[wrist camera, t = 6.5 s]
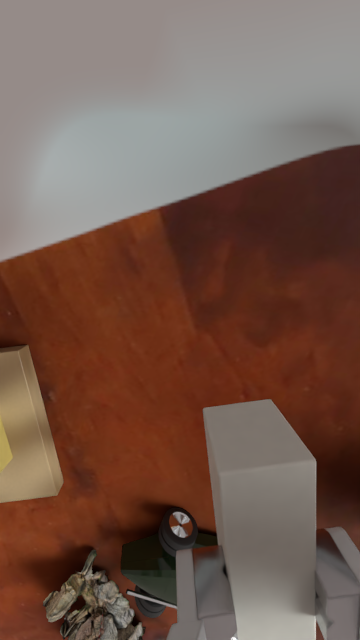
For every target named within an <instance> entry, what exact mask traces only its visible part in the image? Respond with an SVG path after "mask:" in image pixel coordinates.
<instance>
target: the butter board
mask: <svg viewBox="0 0 360 640" xmlns="http://www.w3.org/2000/svg"><path fill="white" fill-rule="evenodd" d="M0 417H1V420H2V423H3V426H4V430H5V433H6V436H7V439H8V443H9V446H10V449H11V453H12V456H13V458H12V459H11V461H10V462H9V463H8V464H7V466H6V467H5V468H4V469H3V470H2V472H1V473H0V503H2V502H10V501H18V500H26V499H33V498H41V497H49V496H56V495H58V493H59V491H60V489H61V487H62V485H63V483H64V480H63V477H62V473H61V469H60V465H59V461H58V457H57V454H56V450H55V446H54V442H53V438H52V434H51V431H50V427H49V423H48V419H47V415H46V411H45V408H44V404H43V400H42V396H41V392H40V388H39V385H38V381H37V377H36V373H35V369H34V365H33V362H32V358H31V354H30V350H29V346H28V345H23V346H14V347H6V348H0Z"/></svg>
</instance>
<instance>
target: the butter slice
mask: <svg viewBox="0 0 360 640" xmlns="http://www.w3.org/2000/svg"><path fill="white" fill-rule="evenodd" d="M12 458H13V456H12V453H11V449H10V446H9V443H8V439H7V436H6V433H5V430H4V426H3V423H2V420H1V417H0V473H1V472H2V470H3V469H4V468H5V467H6V466H7V464H8V463H9V462H10V461H11V459H12Z"/></svg>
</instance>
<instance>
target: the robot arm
mask: <svg viewBox="0 0 360 640" xmlns="http://www.w3.org/2000/svg"><path fill="white" fill-rule="evenodd" d="M176 582H177V623H175V624H172V626H171V629H170V631H169V634H168V636H167V639H166V640H238V636H237V623H236V615H235V609H234V603H233V598H232V592H231V587H230V582H229V579H228V578H227V573H226V564H225V558H224V553H223V548H222V545H215V546H208V547H201V548H194V549H192V548H191V549H185V550H179V551H177V552H176ZM315 590H316V598H315V618H316V620H317V622H318V625H319V627H320V630H321V632H322V634H323V637H324V639H325V640H360V552H359V551H358V549H357V548H356V546H355V545H354V543H353V542H352V540H351V539H350V537H349V536H348V534H347V533H346V531H345V530H344V529H343V528H342V527H333V528H327V529H318V530H316V570H315Z"/></svg>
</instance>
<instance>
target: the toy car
mask: <svg viewBox="0 0 360 640" xmlns="http://www.w3.org/2000/svg"><path fill="white" fill-rule="evenodd" d="M215 545H218V539H217V537H216V536H211V535H207V534H202V533H198V528H197V524H196V522H195V520H194V518H193V517H192V515H191V514H190V513H189V512H187V511H186V510H184V509H182V508H178V507H174V508H171V509H169V510H168V511H166V513H165V514H164V517H163V519H162V522H161V524H160V527H159V531H158V533H157V534H154V535H152V536H150V537H147V538H143V539H140V540H136V541H133V542H129V543H126V544H123V546H122V556H121V573H122V574H123V575H124V576H126V577H127V578H128V579H129V580H131V581H132V582H133V583H135V584H136V587H135V591H133V590H130V589H127V591H126V594H129V595H132V596H135V601H136V604H137V606H138V608H139V610H140V611H141V612H142V613H143V614H144V615H145V616H147V617H150V618H155V617H158V616H159V615H161V614H162V613H163V611H164V610H165V608H166V606H169V607H172V608H175V609H177V582H176V552H177V551H179V550H185V549H191V548H192V549H194V548H201V547H208V546H215ZM163 557H165V558H163ZM154 558H156V559H154ZM169 559H170V560H169ZM170 564H171V565H170Z"/></svg>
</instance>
